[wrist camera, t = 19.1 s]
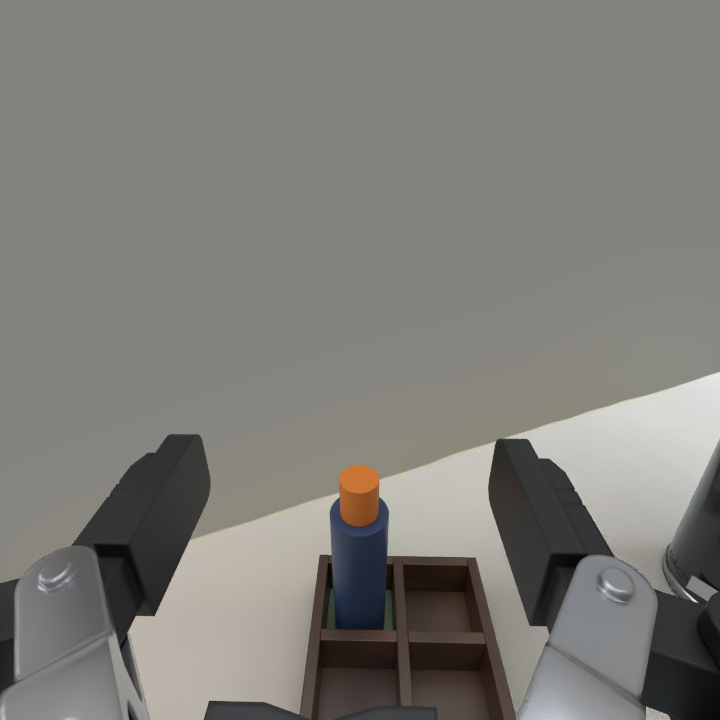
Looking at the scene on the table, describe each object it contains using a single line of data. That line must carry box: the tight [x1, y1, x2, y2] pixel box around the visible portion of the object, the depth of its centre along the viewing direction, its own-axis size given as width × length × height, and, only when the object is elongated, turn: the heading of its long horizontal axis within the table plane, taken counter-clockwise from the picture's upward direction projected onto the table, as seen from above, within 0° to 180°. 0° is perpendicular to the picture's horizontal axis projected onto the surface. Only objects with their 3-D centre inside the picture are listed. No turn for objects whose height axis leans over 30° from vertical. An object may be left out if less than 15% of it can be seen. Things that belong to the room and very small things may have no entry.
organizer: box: [300, 555, 516, 720], centre depth 31 cm, size 13×13×4 cm
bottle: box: [330, 465, 389, 630], centre depth 31 cm, size 4×4×15 cm
